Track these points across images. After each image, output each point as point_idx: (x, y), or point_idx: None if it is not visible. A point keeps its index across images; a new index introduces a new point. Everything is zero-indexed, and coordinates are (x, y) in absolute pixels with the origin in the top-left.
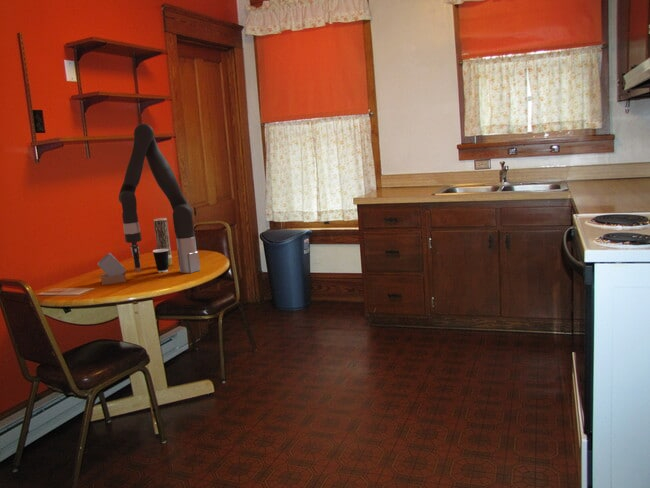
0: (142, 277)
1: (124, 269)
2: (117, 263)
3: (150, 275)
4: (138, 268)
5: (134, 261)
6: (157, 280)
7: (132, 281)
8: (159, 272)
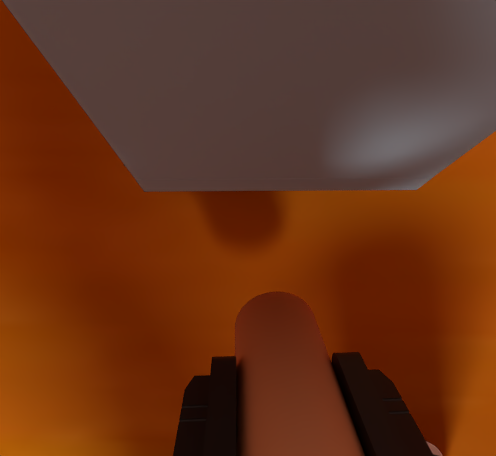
0: None
1: (186, 178)
2: (29, 15)
3: None
4: None
5: (254, 442)
6: (37, 421)
7: (125, 217)
8: None
